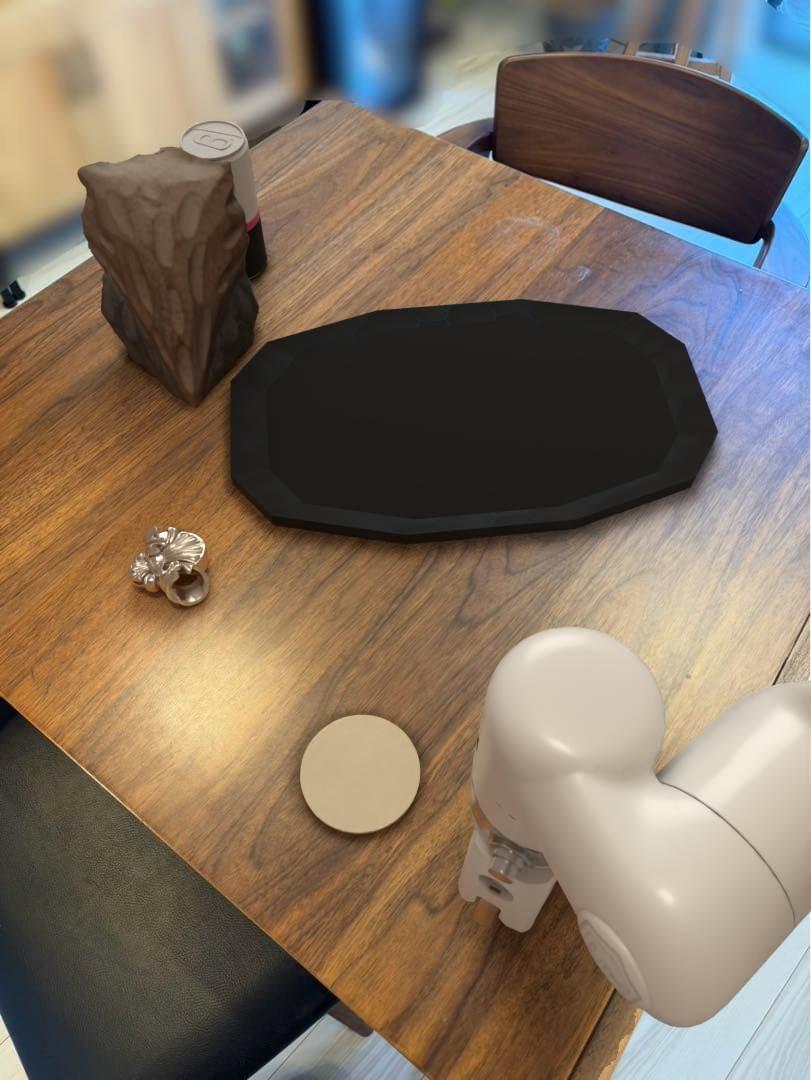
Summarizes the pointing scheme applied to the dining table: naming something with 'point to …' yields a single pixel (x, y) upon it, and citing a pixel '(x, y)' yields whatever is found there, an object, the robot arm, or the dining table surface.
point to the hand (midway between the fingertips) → (507, 867)
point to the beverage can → (232, 146)
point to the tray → (466, 421)
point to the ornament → (172, 565)
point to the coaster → (360, 774)
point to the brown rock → (172, 265)
